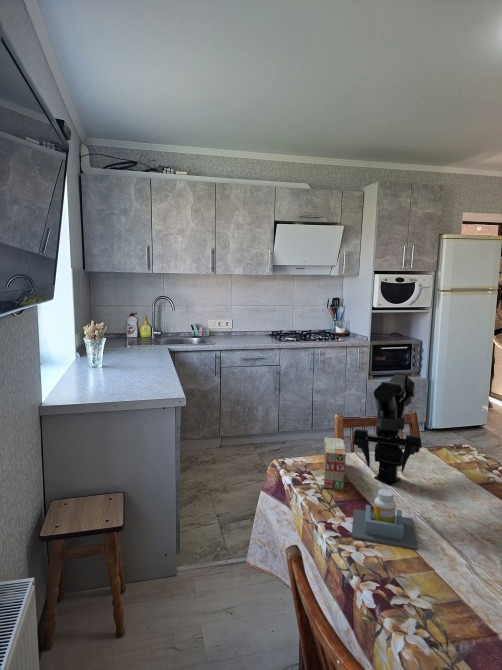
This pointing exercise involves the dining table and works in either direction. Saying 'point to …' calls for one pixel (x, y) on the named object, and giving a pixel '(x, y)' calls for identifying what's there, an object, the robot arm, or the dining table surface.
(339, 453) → the stack of blocks
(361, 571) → the dining table surface
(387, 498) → the supplement bottle
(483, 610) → the dining table surface
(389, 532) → the notch holder
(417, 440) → the robot arm
